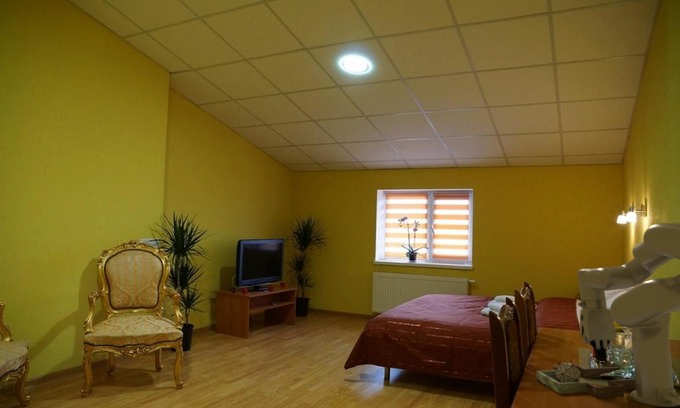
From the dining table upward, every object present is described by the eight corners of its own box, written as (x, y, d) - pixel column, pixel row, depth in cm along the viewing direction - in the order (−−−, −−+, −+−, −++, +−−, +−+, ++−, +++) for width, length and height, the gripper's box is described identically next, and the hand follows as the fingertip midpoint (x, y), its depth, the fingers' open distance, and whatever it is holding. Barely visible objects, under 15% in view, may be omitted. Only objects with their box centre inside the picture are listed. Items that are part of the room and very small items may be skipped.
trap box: (662, 394, 144) (661, 384, 144) (569, 399, 142) (568, 389, 142) (608, 371, 171) (607, 362, 171) (528, 375, 169) (528, 366, 169)
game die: (575, 399, 153) (586, 379, 148) (548, 387, 156) (558, 368, 151) (577, 379, 160) (587, 359, 155) (551, 368, 163) (560, 349, 158)
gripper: (579, 307, 154) (586, 364, 152) (622, 304, 155) (630, 361, 153) (566, 305, 162) (573, 360, 159) (607, 302, 163) (615, 357, 160)
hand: (601, 360), depth 156 cm, fingers closed
